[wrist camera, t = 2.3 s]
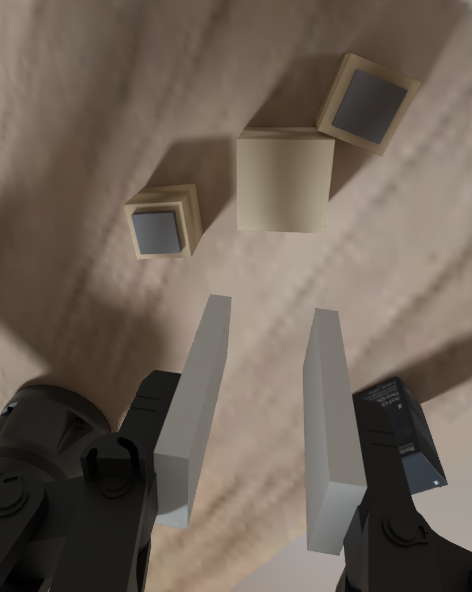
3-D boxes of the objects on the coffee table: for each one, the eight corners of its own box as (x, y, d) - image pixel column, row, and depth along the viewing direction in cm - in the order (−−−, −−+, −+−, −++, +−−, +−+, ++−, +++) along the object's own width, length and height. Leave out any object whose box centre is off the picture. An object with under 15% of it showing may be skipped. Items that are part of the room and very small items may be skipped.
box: (397, 374, 45) (422, 452, 36) (421, 404, 47) (451, 486, 38) (337, 400, 48) (347, 479, 39) (362, 428, 50) (376, 509, 41)
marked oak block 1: (314, 120, 33) (318, 131, 28) (343, 53, 30) (352, 52, 25) (369, 142, 33) (383, 158, 28) (402, 78, 31) (424, 83, 26)
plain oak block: (245, 206, 37) (237, 229, 32) (245, 126, 34) (236, 139, 29) (320, 208, 37) (324, 233, 32) (328, 127, 33) (335, 140, 28)
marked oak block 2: (155, 235, 40) (134, 262, 35) (144, 186, 38) (120, 207, 33) (203, 233, 39) (189, 260, 34) (195, 183, 37) (179, 203, 32)
